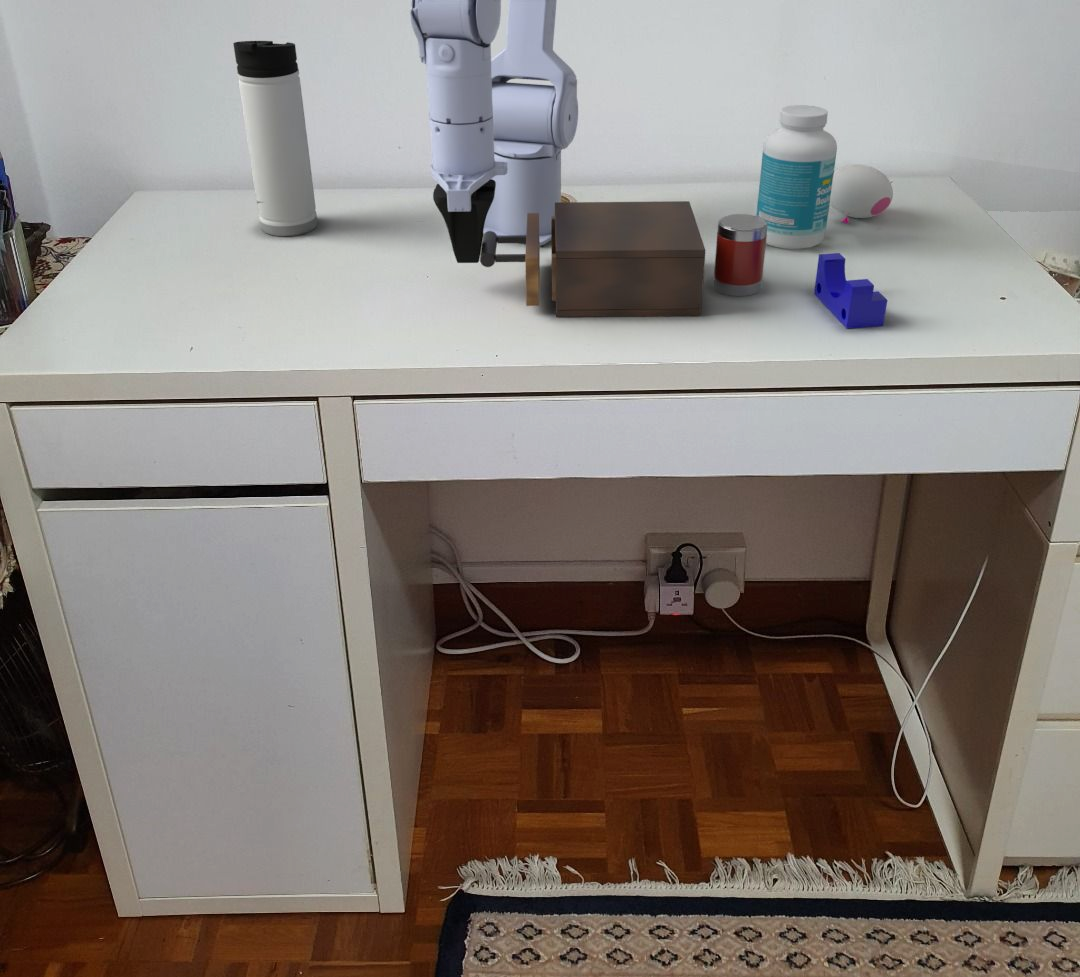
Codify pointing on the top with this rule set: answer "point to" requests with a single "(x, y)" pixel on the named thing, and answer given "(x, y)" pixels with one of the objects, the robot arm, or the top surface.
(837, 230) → the top surface
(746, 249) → the can
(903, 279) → the top surface
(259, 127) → the travel mug
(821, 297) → the cable holder
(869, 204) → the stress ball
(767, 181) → the pill bottle
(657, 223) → the organiser
